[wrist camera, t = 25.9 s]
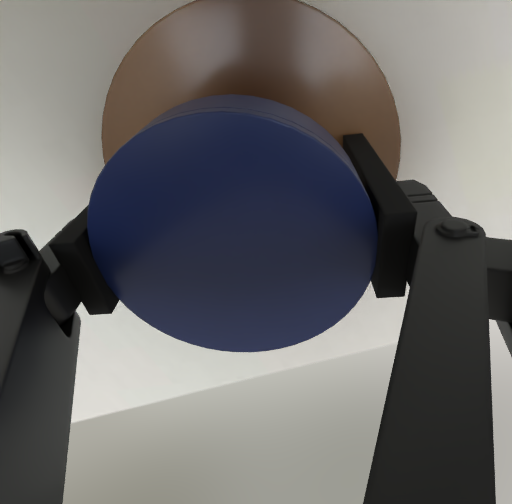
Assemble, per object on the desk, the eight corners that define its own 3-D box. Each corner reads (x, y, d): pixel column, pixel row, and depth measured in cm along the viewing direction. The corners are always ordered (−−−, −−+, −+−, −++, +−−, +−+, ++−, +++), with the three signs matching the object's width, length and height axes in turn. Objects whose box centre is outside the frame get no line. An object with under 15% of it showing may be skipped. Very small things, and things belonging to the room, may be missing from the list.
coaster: (416, -41, 11) (422, -43, 10) (384, 271, 18) (387, 278, 18) (52, 24, 13) (43, 25, 12) (157, 286, 20) (154, 293, 19)
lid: (158, 318, 14) (143, 357, 12) (69, 115, 9) (27, 135, 8) (358, 308, 13) (369, 348, 11) (372, 73, 8) (394, 86, 7)
